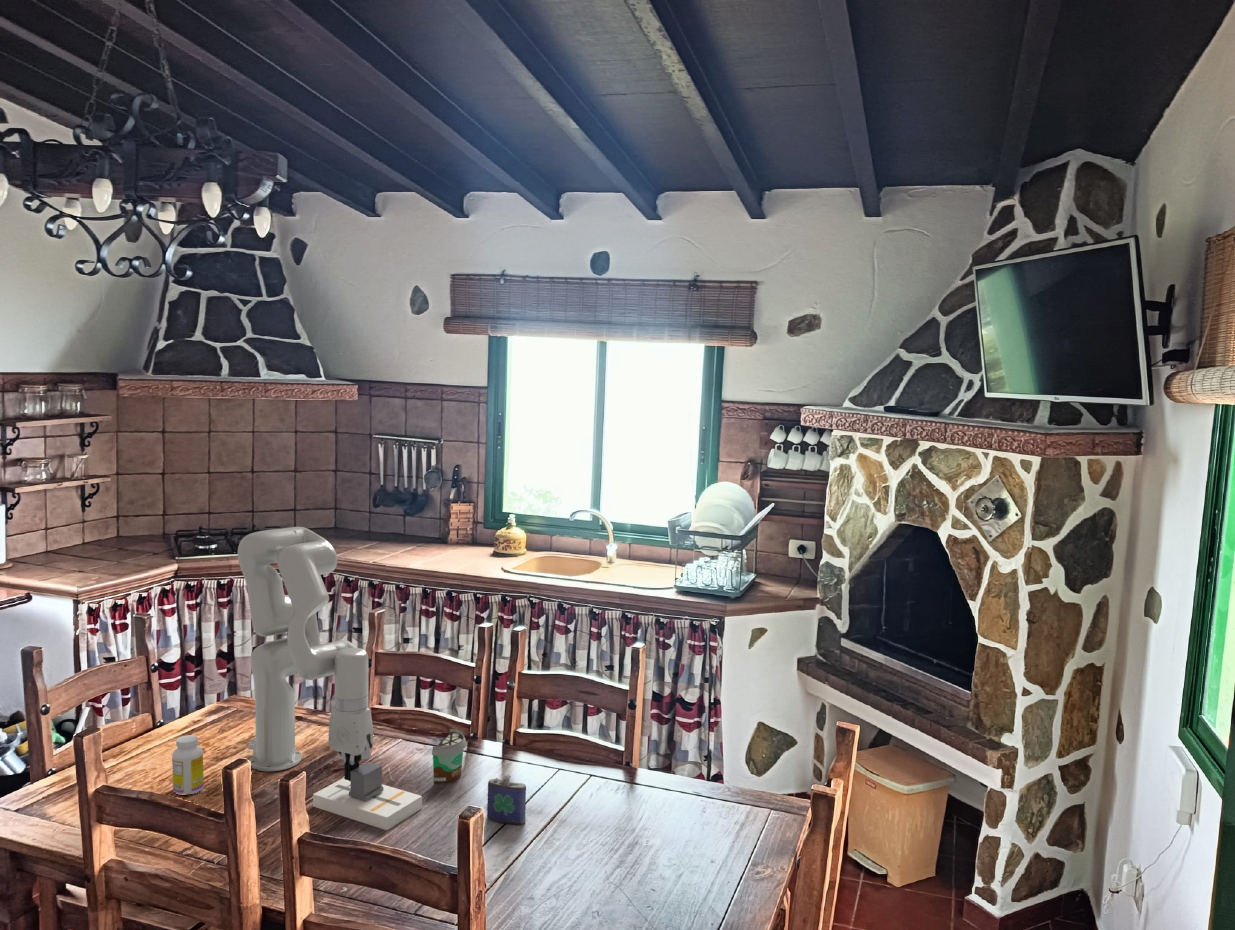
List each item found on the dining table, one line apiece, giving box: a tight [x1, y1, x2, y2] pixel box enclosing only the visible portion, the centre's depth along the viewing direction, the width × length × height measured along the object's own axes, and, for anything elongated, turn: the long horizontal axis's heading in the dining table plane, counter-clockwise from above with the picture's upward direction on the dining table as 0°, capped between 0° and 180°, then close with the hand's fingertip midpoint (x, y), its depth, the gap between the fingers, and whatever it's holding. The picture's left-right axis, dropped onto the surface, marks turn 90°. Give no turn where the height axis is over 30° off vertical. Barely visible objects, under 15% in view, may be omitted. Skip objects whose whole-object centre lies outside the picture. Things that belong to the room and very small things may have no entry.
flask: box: [486, 774, 527, 826], centre depth 212 cm, size 9×3×11 cm, turn 74°
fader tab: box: [349, 761, 383, 801], centre depth 216 cm, size 5×6×6 cm
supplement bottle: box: [171, 734, 205, 795], centre depth 221 cm, size 7×7×13 cm
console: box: [312, 777, 423, 831], centre depth 216 cm, size 22×12×3 cm, turn 63°
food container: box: [431, 728, 467, 785], centre depth 233 cm, size 12×6×10 cm, turn 168°
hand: (351, 778), depth 218 cm, fingers closed
